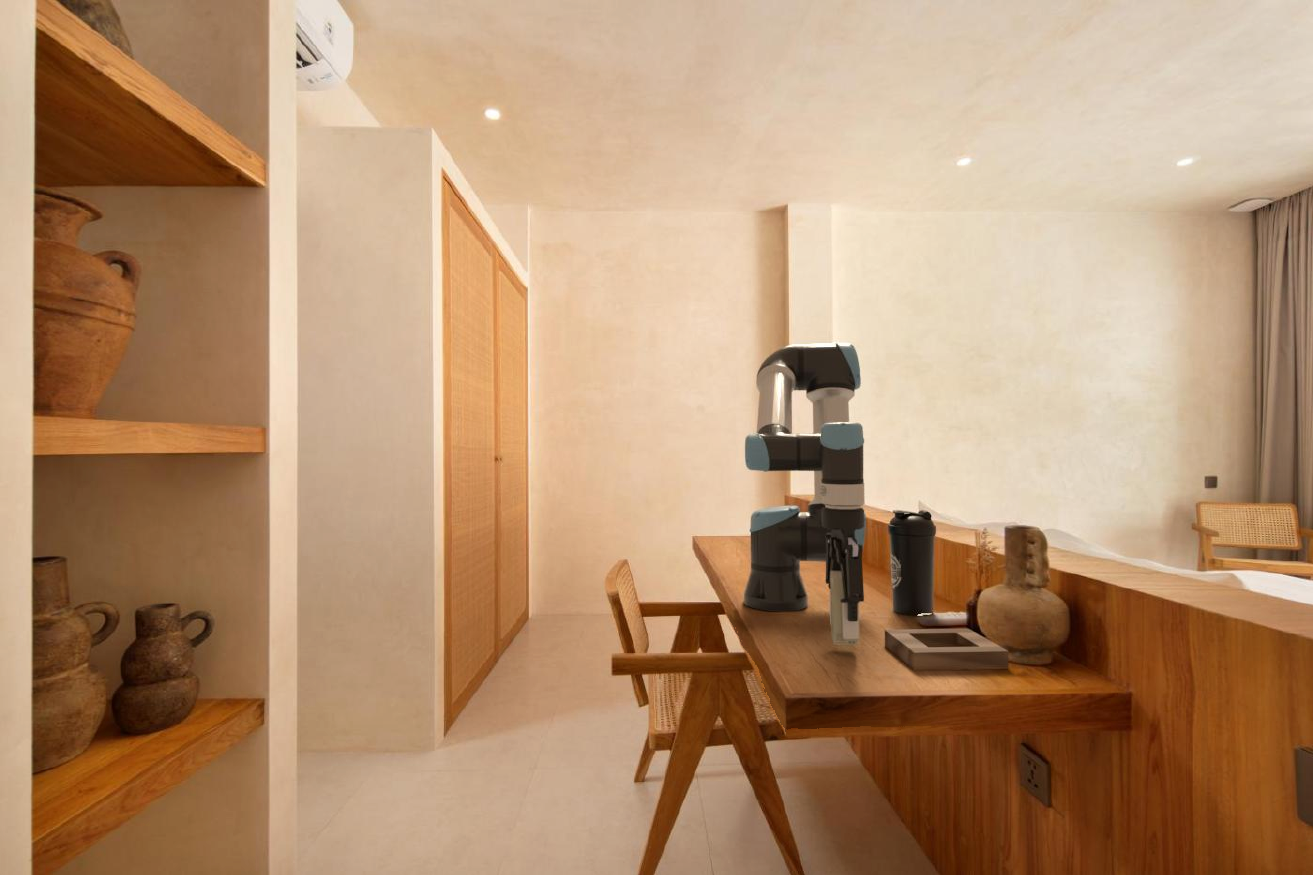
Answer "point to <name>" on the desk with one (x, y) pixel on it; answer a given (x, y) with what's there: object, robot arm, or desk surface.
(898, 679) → the desk surface
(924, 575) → the water bottle
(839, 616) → the skincare box
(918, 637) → the socket stand
